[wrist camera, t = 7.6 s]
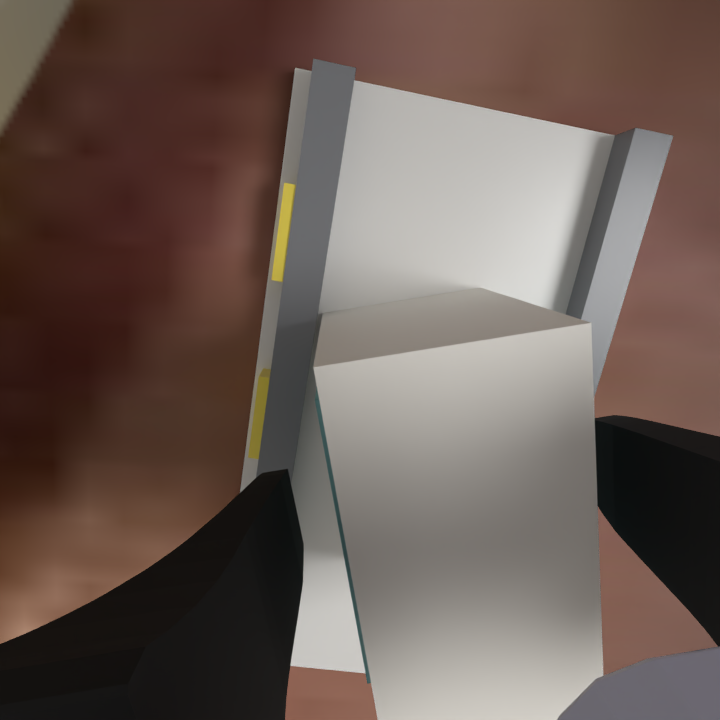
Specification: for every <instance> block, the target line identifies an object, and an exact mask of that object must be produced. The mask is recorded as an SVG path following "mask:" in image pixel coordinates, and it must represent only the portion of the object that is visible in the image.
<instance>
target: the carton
mask: <svg viewBox="0 0 720 720" xmlns="http://www.w3.org/2000/svg"><path fill="white" fill-rule="evenodd" d="M313 369H314V374H315V380H316V385H317V387H316V394H315V404H316V409H317V415H318V420H319V425H320V431H321V436H322V442H323V447H324V452H325V458H326V463H327V469H328V474H329V479H330V485H331V490H332V495H333V501H334V506H335V512H336V517H337V522H338V528H339V533H340V539H341V544H342V549H343V555H344V560H345V565H346V571H347V576H348V582H349V587H350V592H351V598H352V603H353V608H354V614H355V619H356V625H357V630H358V635H359V641H360V646H361V652H362V657H363V662H364V668H365V673H366V678H367V683H371V685H372V691H373V696H374V701H375V707H376V712H377V718H378V720H557V719H558V717H559V716H560V714H561V713H562V712H563V711H564V710H565V709H566V708H567V707H568V706H569V705H570V704H571V703H572V702H573V701H574V700H575V699H576V698H577V697H578V696H579V695H580V694H581V693H582V692H583V691H584V690H585V689H586V688H587V687H588V686H589V685H590V684H591V683H592V682H593V681H594V680H595V679H597V678H599V677H602V676H603V651H602V622H601V593H600V563H599V534H598V504H597V475H596V445H595V416H594V386H593V357H592V328H591V322H587V321H584V320H581V319H578V318H575V317H572V316H569V315H565V314H562V313H559V312H556V311H553V310H550V309H547V308H543V307H540V306H537V305H534V304H531V303H528V302H525V301H521V300H518V299H515V298H512V297H509V296H506V295H503V294H499V293H496V292H493V291H490V290H487V289H484V288H475V289H469V290H463V291H456V292H450V293H444V294H438V295H431V296H425V297H419V298H413V299H406V300H400V301H394V302H387V303H381V304H375V305H369V306H362V307H356V308H350V309H344V310H337V311H331V312H325V313H323V314H322V320H321V326H320V331H319V337H318V343H317V349H316V355H315V360H314V366H313Z"/></svg>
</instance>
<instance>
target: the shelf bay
mask: <svg viewBox="0 0 720 720" xmlns="http://www.w3.org/2000/svg"><path fill="white" fill-rule="evenodd" d="M355 72H356V68H354V67H350V66H345V65H340V64H336V63H331V62H326V61H322V60H317V59H313V66H312V71H308V70H303V69H299V68H295V73H294V80H293V88H292V96H291V103H290V111H289V119H288V127H287V134H286V142H285V150H284V157H283V165H282V173H281V180H280V188H279V196H278V204H277V211H276V219H275V227H274V234H273V242H272V250H271V257H270V265H269V273H268V281H267V288H266V296H265V304H264V311H263V319H262V327H261V334H260V342H259V350H258V358H257V365H256V373H255V381H254V388H253V396H252V404H251V411H250V419H249V427H248V435H247V442H246V450H245V458H244V465H243V473H242V481H241V488H240V492H242V491H243V490H244V489H245V488H246V487H247V486H248V485H249V484H250V483H251V482H252V481H253V480H254V479H255V478H256V477H258V476H259V475H260V474H262V473H264V472H270V471H277V470H283V469H288V472H289V476H290V481H291V486H292V491H293V495H294V500H295V505H296V510H297V514H298V519H299V524H300V529H301V533H302V538H303V543H304V566H303V586H302V593H301V600H300V607H299V613H298V620H297V626H296V632H295V639H294V645H293V652H292V658H291V664H290V666H298V667H308V668H318V669H328V670H338V671H348V672H358V673H365V668H364V662H363V657H362V652H361V646H360V641H359V635H358V630H357V625H356V619H355V614H354V608H353V603H352V598H351V592H350V587H349V582H348V576H347V571H346V565H345V560H344V555H343V549H342V544H341V539H340V533H339V528H338V522H337V517H336V512H335V506H334V501H333V495H332V490H331V485H330V479H329V474H328V469H327V463H326V458H325V452H324V447H323V442H322V436H321V431H320V425H319V420H318V415H317V409H316V404H315V394H316V387H317V385H316V380H315V374H314V369H313V366H314V360H315V355H316V349H317V343H318V337H319V331H320V326H321V320H322V314H323V313H325V312H331V311H337V310H344V309H350V308H356V307H362V306H369V305H375V304H381V303H387V302H394V301H400V300H406V299H413V298H419V297H425V296H431V295H438V294H444V293H450V292H456V291H463V290H469V289H475V288H484V289H487V290H490V291H493V292H496V293H499V294H503V295H506V296H509V297H512V298H515V299H518V300H521V301H525V302H528V303H531V304H534V305H537V306H540V307H543V308H547V309H550V310H553V311H556V312H559V313H562V314H565V315H569V316H572V317H575V318H578V319H581V320H584V321H587V322H591V328H592V357H593V386H594V396H595V393H596V389H597V386H598V383H599V380H600V376H601V373H602V370H603V366H604V363H605V360H606V356H607V353H608V350H609V346H610V343H611V340H612V337H613V333H614V330H615V327H616V323H617V320H618V317H619V313H620V310H621V307H622V303H623V300H624V297H625V294H626V290H627V287H628V284H629V280H630V277H631V274H632V270H633V267H634V264H635V260H636V257H637V254H638V251H639V247H640V244H641V241H642V237H643V234H644V231H645V227H646V224H647V221H648V218H649V214H650V211H651V208H652V204H653V201H654V198H655V194H656V191H657V188H658V184H659V181H660V178H661V175H662V171H663V168H664V165H665V161H666V158H667V155H668V151H669V148H670V145H671V141H672V138H673V136H672V135H667V134H662V133H658V132H653V131H648V130H644V129H639V128H634V129H631V130H629V131H626V132H623V133H621V134H618V135H610V134H605V133H600V132H596V131H591V130H586V129H582V128H577V127H572V126H567V125H563V124H558V123H553V122H549V121H544V120H539V119H534V118H530V117H525V116H520V115H516V114H511V113H506V112H501V111H497V110H492V109H487V108H483V107H478V106H473V105H468V104H464V103H459V102H454V101H450V100H445V99H440V98H435V97H431V96H426V95H421V94H416V93H412V92H407V91H402V90H398V89H393V88H388V87H383V86H379V85H374V84H369V83H365V82H360V81H355Z"/></svg>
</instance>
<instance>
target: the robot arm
mask: <svg viewBox="0 0 720 720" xmlns="http://www.w3.org/2000/svg"><path fill="white" fill-rule="evenodd" d="M595 445H596V475H597V504H598V507H599V509H600V510H601V512H602V513H603V515H604V516H605V517H606V519H607V520H608V522H609V523H610V524H611V526H612V527H613V529H614V530H615V531H616V532H617V533H618V535H619V536H620V537H621V538H622V539H623V540H624V541H625V542H626V543H627V545H628V546H629V547H630V548H631V549H632V550H633V551H634V552H635V553H636V554H637V555H638V557H639V558H640V559H641V560H642V561H643V562H644V563H645V564H646V565H647V566H648V567H649V568H650V569H651V570H652V572H653V573H654V574H655V575H656V576H657V577H658V578H659V579H660V580H661V581H662V582H663V583H664V584H665V585H666V587H667V588H668V589H669V590H670V591H671V592H672V593H673V594H674V595H675V596H676V597H677V598H678V599H679V600H680V602H681V603H682V604H683V605H684V606H685V607H686V608H687V609H688V610H689V611H690V612H691V614H692V615H693V616H694V617H695V618H696V619H697V621H698V622H699V623H700V624H701V625H702V626H703V627H704V629H705V630H706V631H707V632H708V634H709V635H710V636H711V638H712V639H713V640H714V642H715V643H716V644H717V645H718V647H714V648H708V649H702V650H696V651H690V652H684V653H678V654H672V655H666V656H660V657H654V658H648V659H646V660H643V661H640V662H638V663H635V664H633V665H630V666H627V667H625V668H622V669H620V670H617V671H615V672H612V673H609V674H607V675H604V676H602V677H599V678H597V679H595V680H594V681H593V682H592V683H591V684H590V685H589V686H588V687H587V688H586V689H585V690H584V691H583V692H582V693H581V694H580V695H579V696H578V697H577V698H576V699H575V700H574V701H573V702H572V703H571V704H570V705H569V706H568V707H567V708H566V709H565V710H564V711H563V712H562V713H561V714H560V716H559V717H558V719H557V720H720V437H719V436H714V435H710V434H705V433H701V432H696V431H692V430H688V429H683V428H679V427H675V426H670V425H666V424H662V423H657V422H653V421H648V420H643V419H638V418H633V417H627V416H617V415H613V416H606V417H600V418H595ZM303 566H304V543H303V538H302V533H301V529H300V524H299V519H298V514H297V510H296V505H295V500H294V495H293V491H292V486H291V481H290V476H289V472H288V469H283V470H277V471H270V472H264V473H262V474H260V475H259V476H258V477H256V478H255V479H254V480H253V481H252V482H251V483H250V484H249V485H248V486H247V487H246V488H245V489H244V490H243V491H242V492H240V493H239V494H238V495H237V496H236V497H235V498H234V499H233V500H232V501H231V502H230V503H229V504H228V505H227V506H226V507H225V508H224V509H223V510H222V511H220V512H219V513H218V514H217V515H216V516H215V517H214V518H212V519H211V520H210V521H209V522H208V523H207V524H205V525H204V526H203V527H202V528H201V529H200V530H198V531H197V532H196V533H195V534H194V535H193V536H191V537H190V538H189V539H188V540H187V541H185V542H184V543H183V544H181V545H180V546H179V547H177V548H176V549H175V550H173V551H172V552H171V553H169V554H168V555H166V556H165V557H164V558H162V559H161V560H159V561H158V562H156V563H155V564H154V565H152V566H151V567H149V568H148V569H146V570H145V571H143V572H141V573H140V574H138V575H136V576H135V577H133V578H131V579H130V580H128V581H126V582H125V583H123V584H121V585H120V586H118V587H116V588H114V589H113V590H111V591H109V592H108V593H106V594H104V595H103V596H101V597H99V598H97V599H95V600H94V601H92V602H90V603H88V604H86V605H84V606H82V607H80V608H78V609H76V610H74V611H73V612H70V613H68V614H66V615H64V616H62V617H60V618H58V619H56V620H54V621H52V622H50V623H48V624H46V625H44V626H41V627H39V628H37V629H35V630H33V631H30V632H28V633H26V634H24V635H21V636H19V637H16V638H14V639H11V640H9V641H7V642H4V643H2V644H0V720H285V709H286V695H287V687H288V678H289V671H290V664H291V658H292V652H293V645H294V639H295V632H296V626H297V620H298V613H299V607H300V600H301V593H302V586H303Z"/></svg>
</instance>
